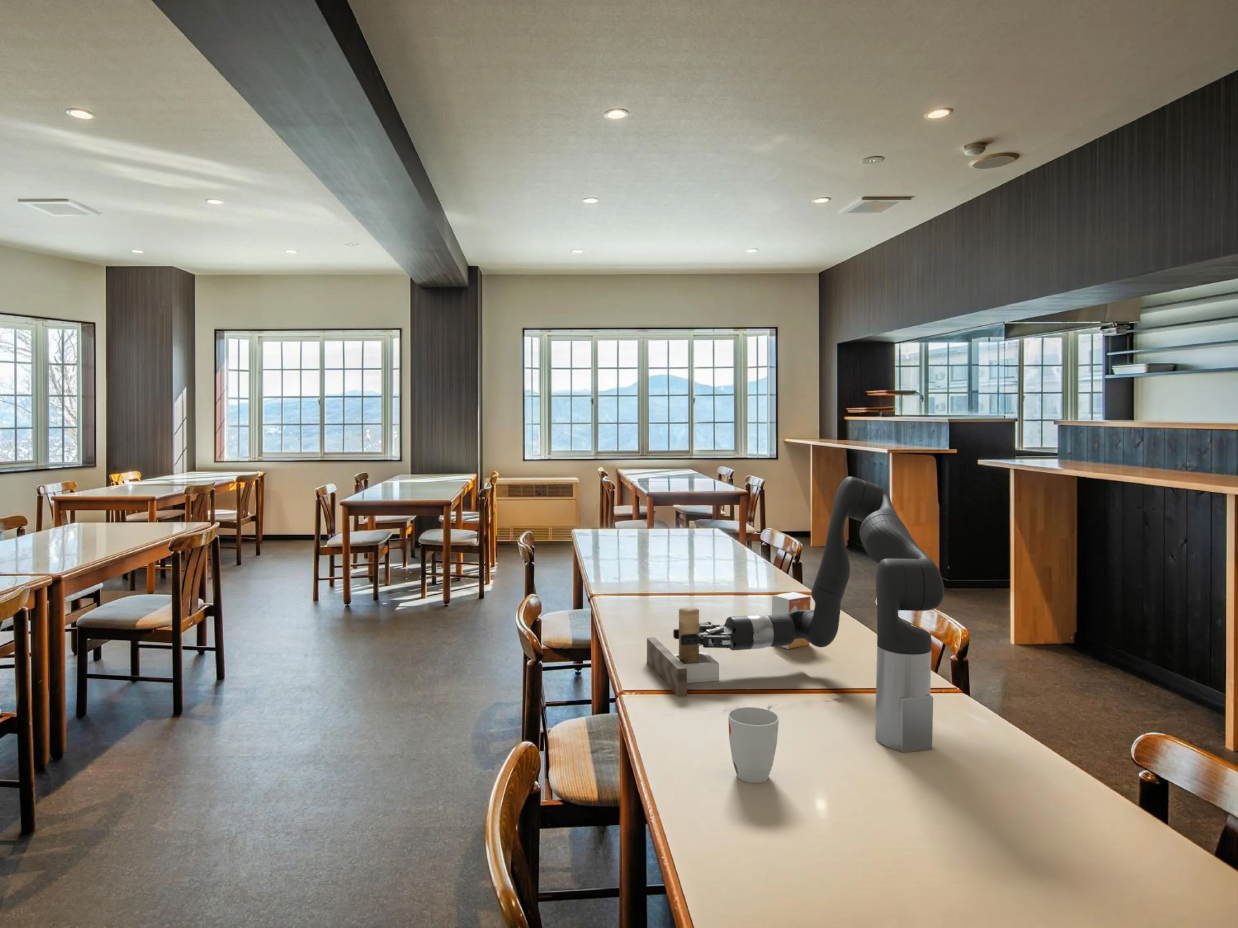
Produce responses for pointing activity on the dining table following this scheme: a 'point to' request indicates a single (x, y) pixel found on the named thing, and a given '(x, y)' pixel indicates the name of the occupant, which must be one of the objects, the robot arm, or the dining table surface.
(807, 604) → the small box
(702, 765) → the dining table surface
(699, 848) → the dining table surface
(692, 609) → the oak dowel
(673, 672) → the board
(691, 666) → the white square tray
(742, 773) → the cup
